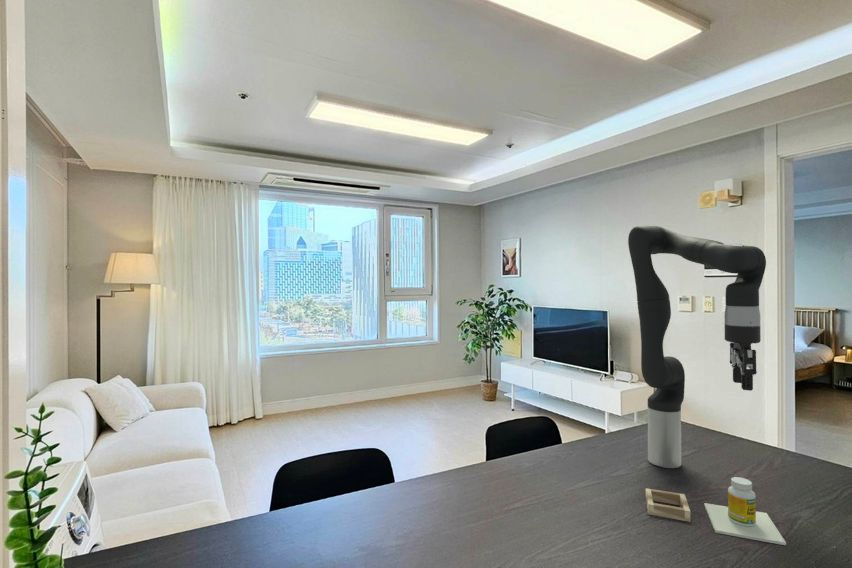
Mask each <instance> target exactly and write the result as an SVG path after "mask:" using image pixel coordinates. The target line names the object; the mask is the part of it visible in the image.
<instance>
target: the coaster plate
mask: <svg viewBox="0 0 852 568" xmlns="http://www.w3.org/2000/svg"><path fill="white" fill-rule="evenodd" d="M703 505H704V508H705V511H706V513H707V515H708V518H709V521H710V522H711V526H712V527H713V530H714V532H715V533H716V534H719V535H720V534H722V535H727V536H733V537H737V538H743V539H749V540H752V541H753V540H754V541H760V542H765V543H772V544H775V545H776V544H777V545H780V546H781V545H783V546H786V545H787V542H786V540H785V539H784V537H783V536H782V534H781V533H780V531H779V530H778V528H777V527H776V525H775V523H774V522H773V521H772V519H771V517H770V516H769V514H768V513H767V512H762V511H757V510H756V524H755V525H754V526H750V527H747V526H742V525H738V524H736V523H734V522H732V521H731V520H730V519H729V517H728V506H725V505H718V504H713V503H706V502H704V503H703Z"/></svg>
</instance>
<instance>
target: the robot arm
mask: <svg viewBox="0 0 852 568" xmlns="http://www.w3.org/2000/svg"><path fill="white" fill-rule="evenodd" d="M627 244H628V250H629V255H630V261H631V265H632V269H633V270H632V271H633V275H634V281H635V290H636V291H635V292H636V301H637V302H636V303H637V309H638V310H637V311H638V312H637V313H638V318H639V328H640V329H639V331H640V347H641V350H640V351H641V352H640V353H641V357H640V358H641V359H640V360H641V361H640V362H641V363H640V364H641V365H640V367H641V375H642V378H643V380H644V382H645V383H646V384H647V386H649V388H653V389H655V391H654V392H653V393H652V394H651V395H650V396H648V398H647V460H648V461H647V462H649V463H650V464H652V465H654V466H657V467H660V468H665V469H678V468H680V467H681V466H682V419H681V418H682V410H681V409H682V404H683V402H684V398H685V385H686V384H685V381H686V379H685V378H686V373H685V369H684V365H683V364H682V362H681V361H680V360H679V359H677V358H676V357H674V356H665V355H664V339H665V335H666V332H667V330H668V327H669V324H670V320H671V317H672V309H671V298H670V294H669V292H668V289H667V287H666V286H665V284H664V283H663V281H662V280H661V278H660V277H659V276H658V274H657V273H656V271H655V268H654V265H653V260H652V255H657V254H669V255H676V256H680V257H681V258H683V259H685V260H687V261H690V262H692V263H696V264H699V265H704V266H708V267H711V268H714V269H715V270H719V271H721V272H724V273H728V274H736V278H735V281H734V282H731V283H729V284H727V286H726V287H725V310H724V341H726V342H729V364H730V366H731V368H732V382H734V384H735V383H736V384H737V383H738V384H741V386H740V387H741V390H743V391H750V392H751V391H753V390H754V376H755V375H757V373H758V371H757V350H756V349H752V346H751V345H752V344H759V343H761V311H760V288H761V285H762V282H763V278H764V275H765V271H766V266H767V258H766V255H765V253H764V252H763V249H760V248H759V246H758V247H757V246H754V245H732V244H731V245H730V244H729V245H728V244H724V243H723V242H721V241H718V240H713V239H708V238H701V237H694V236H687V235H684V234H681V233H677V232H674V231H672V230H669V229H667V228H664V227H662V226H658V225H637V226H635V227H633V228H632V229H630V232H629V233H628V238H627Z"/></svg>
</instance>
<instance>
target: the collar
mask: <svg viewBox="0 0 852 568" xmlns="http://www.w3.org/2000/svg"><path fill="white" fill-rule="evenodd" d="M645 502H646V508H647V514H648V515H651V516H655V517H661V518H667V519H672V520H678V521H684V522H689V523H690V522H691V509H690V506H689V504H688V500H687V498H686V494H685V493H679V492H673V491H672V492H671V491H665V490H659V489H652V488H648V487H647V488H645ZM656 502H658V503H656ZM659 502H660V503H659ZM661 503H662V504H661ZM663 503H665V504H663ZM666 504H667V505H666ZM668 504H669V505H668ZM671 504H672V505H671ZM675 505H677V506H675ZM678 506H679V507H678Z"/></svg>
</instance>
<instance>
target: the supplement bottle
mask: <svg viewBox="0 0 852 568" xmlns="http://www.w3.org/2000/svg"><path fill="white" fill-rule="evenodd" d="M752 489H753V482H752V481H751V480H750V479H747V478H744V477H740V476H739V477H738V476H734V477H731V478H730V486H729V487H728V488H727V507H728V517H729V519H730V520H731V521H732V522H734V523H736V524H738V525H742V526H747V527H750V526H754V525H755V524H756V511H757V510H756V509H757V507H756V505H757V503H756V502H757V501H756V500H757V499H756V497H757V496H756V493H755V492H754V491H753V490H752Z"/></svg>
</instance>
